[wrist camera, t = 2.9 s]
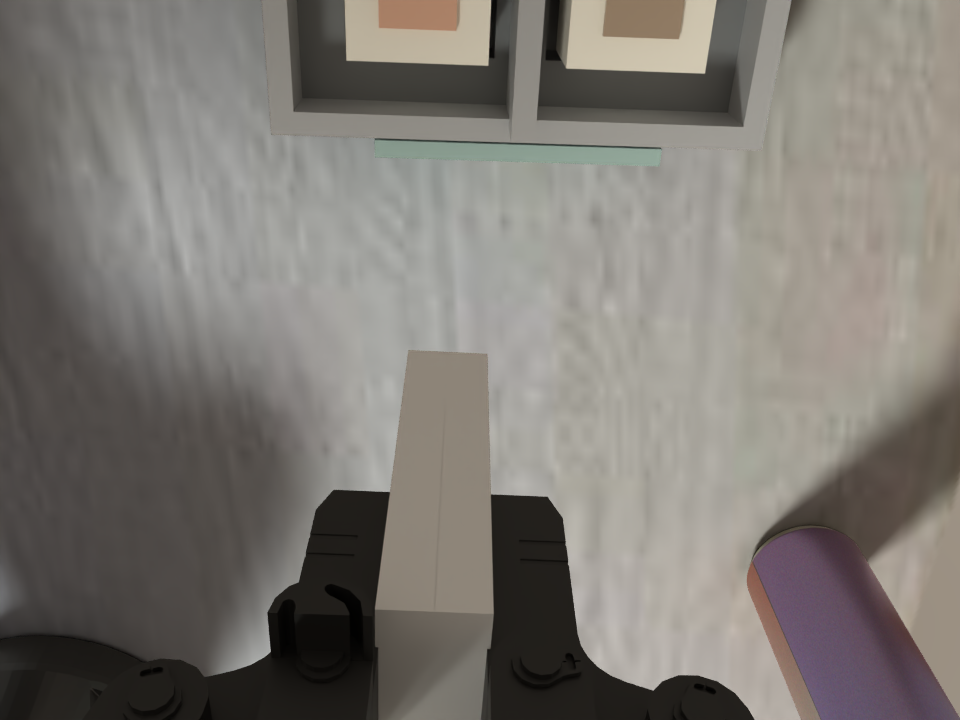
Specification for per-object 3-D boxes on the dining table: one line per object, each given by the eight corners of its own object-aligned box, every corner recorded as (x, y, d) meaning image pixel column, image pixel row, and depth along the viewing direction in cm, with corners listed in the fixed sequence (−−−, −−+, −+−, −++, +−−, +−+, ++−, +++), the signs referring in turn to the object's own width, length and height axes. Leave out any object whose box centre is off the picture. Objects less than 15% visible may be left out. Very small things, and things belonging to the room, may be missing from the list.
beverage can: (775, 507, 45) (908, 774, 32) (878, 533, 46) (1049, 802, 33) (723, 592, 48) (827, 870, 34) (822, 615, 49) (960, 893, 35)
